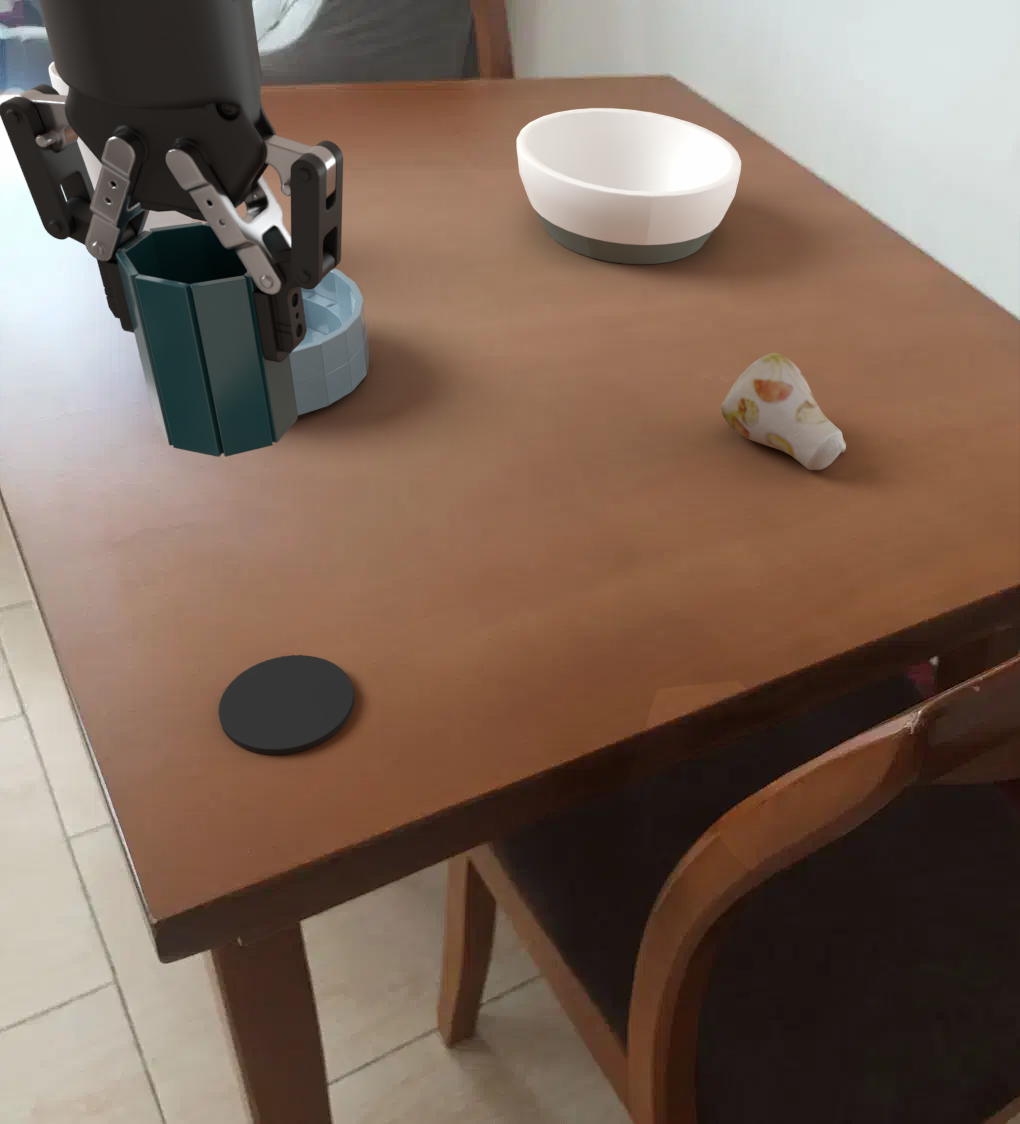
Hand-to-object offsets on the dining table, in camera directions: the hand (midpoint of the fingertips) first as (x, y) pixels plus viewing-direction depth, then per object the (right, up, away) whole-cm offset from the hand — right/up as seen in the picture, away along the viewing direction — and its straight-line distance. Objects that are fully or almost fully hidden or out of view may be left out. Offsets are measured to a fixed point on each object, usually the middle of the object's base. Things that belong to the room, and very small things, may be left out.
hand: (212, 338), depth 53 cm
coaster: (-1, -19, +11) cm, 22 cm away
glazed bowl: (-13, +5, +36) cm, 38 cm away
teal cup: (-1, -3, +3) cm, 5 cm away
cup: (-28, +17, +47) cm, 58 cm away
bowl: (+13, +24, +64) cm, 70 cm away
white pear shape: (+29, -1, +37) cm, 47 cm away
